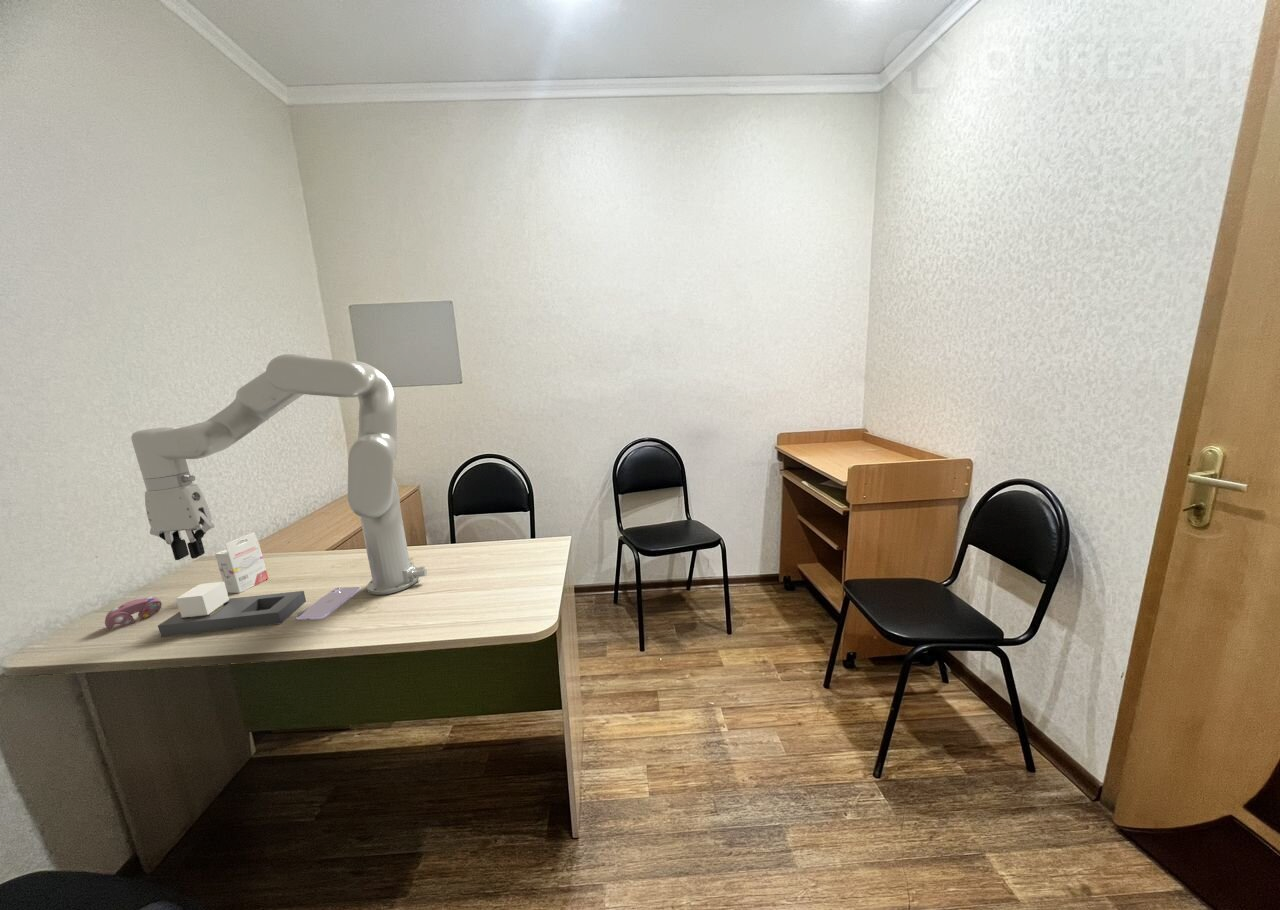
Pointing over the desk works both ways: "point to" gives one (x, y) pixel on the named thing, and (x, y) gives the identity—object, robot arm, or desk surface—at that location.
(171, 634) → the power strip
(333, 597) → the mobile phone
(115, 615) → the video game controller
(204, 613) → the plug
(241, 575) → the ink cartridge box
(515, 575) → the desk surface
